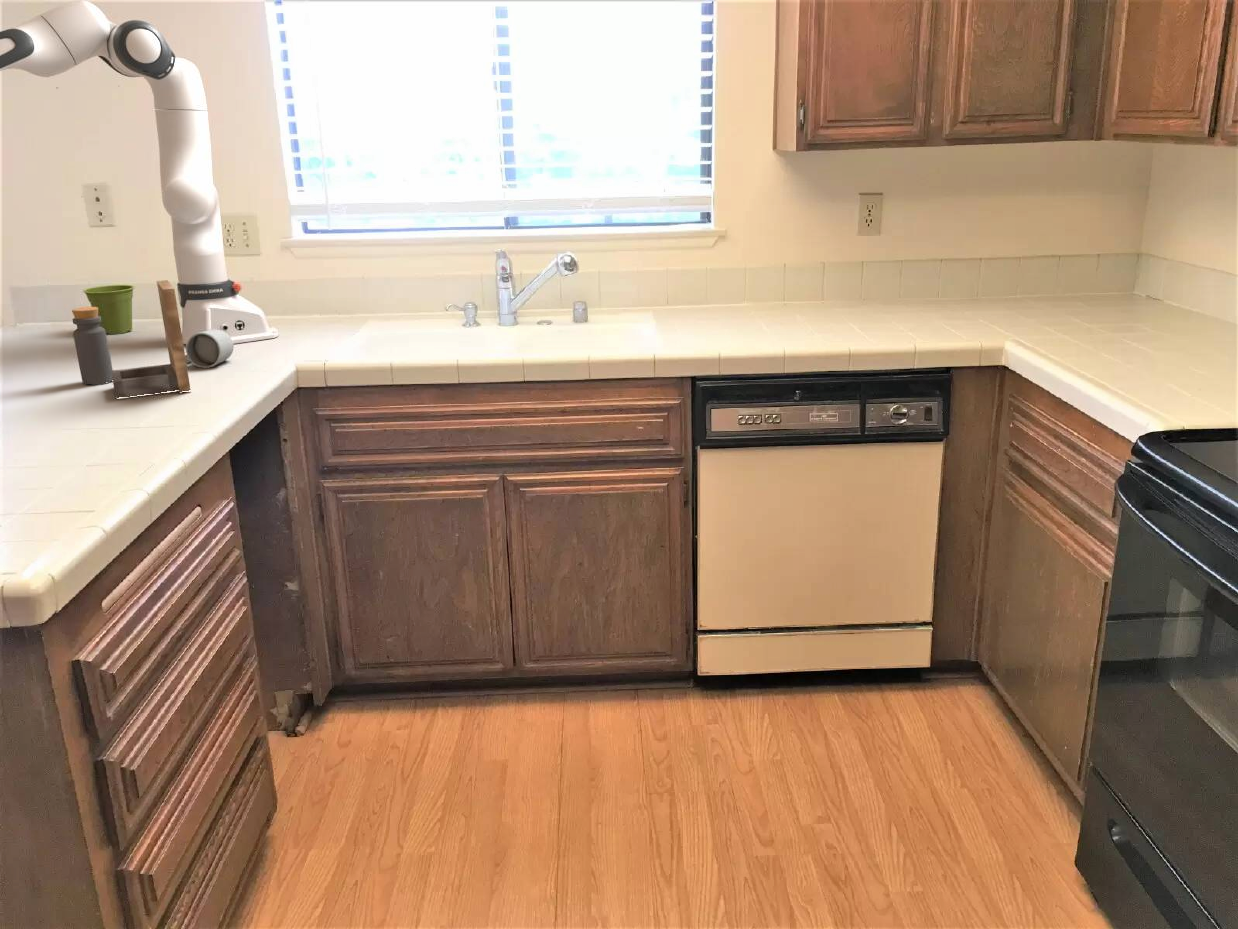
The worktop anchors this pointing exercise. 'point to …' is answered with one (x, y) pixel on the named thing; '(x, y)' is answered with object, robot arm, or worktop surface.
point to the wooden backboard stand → (160, 375)
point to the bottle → (91, 346)
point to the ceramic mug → (208, 348)
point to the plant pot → (113, 306)
